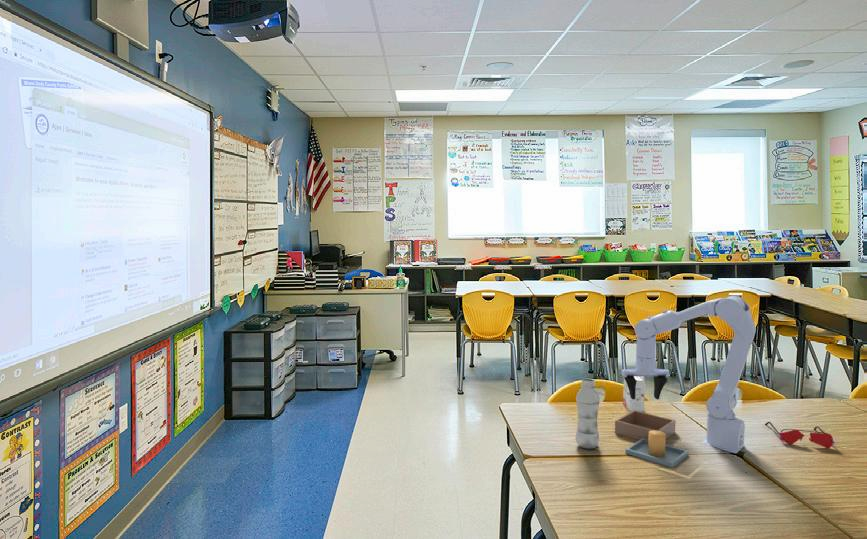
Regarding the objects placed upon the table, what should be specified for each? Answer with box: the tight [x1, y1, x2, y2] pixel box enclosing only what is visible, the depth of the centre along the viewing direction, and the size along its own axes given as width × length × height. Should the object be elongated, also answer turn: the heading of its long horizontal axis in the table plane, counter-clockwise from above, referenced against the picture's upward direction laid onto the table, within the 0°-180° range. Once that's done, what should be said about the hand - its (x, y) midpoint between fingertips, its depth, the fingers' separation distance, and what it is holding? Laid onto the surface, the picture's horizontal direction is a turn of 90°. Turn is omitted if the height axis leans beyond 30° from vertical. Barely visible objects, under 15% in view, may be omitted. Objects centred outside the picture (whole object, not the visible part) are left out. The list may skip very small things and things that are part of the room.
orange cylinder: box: [648, 430, 667, 457], centre depth 149 cm, size 4×4×6 cm
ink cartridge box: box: [622, 376, 646, 412], centre depth 187 cm, size 9×5×15 cm, turn 179°
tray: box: [625, 438, 689, 469], centre depth 149 cm, size 13×11×2 cm
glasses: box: [764, 421, 836, 449], centre depth 163 cm, size 14×16×5 cm
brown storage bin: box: [614, 410, 677, 441], centre depth 164 cm, size 13×13×4 cm
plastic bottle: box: [575, 377, 600, 450], centre depth 155 cm, size 6×7×20 cm
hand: (644, 398), depth 170 cm, fingers open, 7 cm apart
